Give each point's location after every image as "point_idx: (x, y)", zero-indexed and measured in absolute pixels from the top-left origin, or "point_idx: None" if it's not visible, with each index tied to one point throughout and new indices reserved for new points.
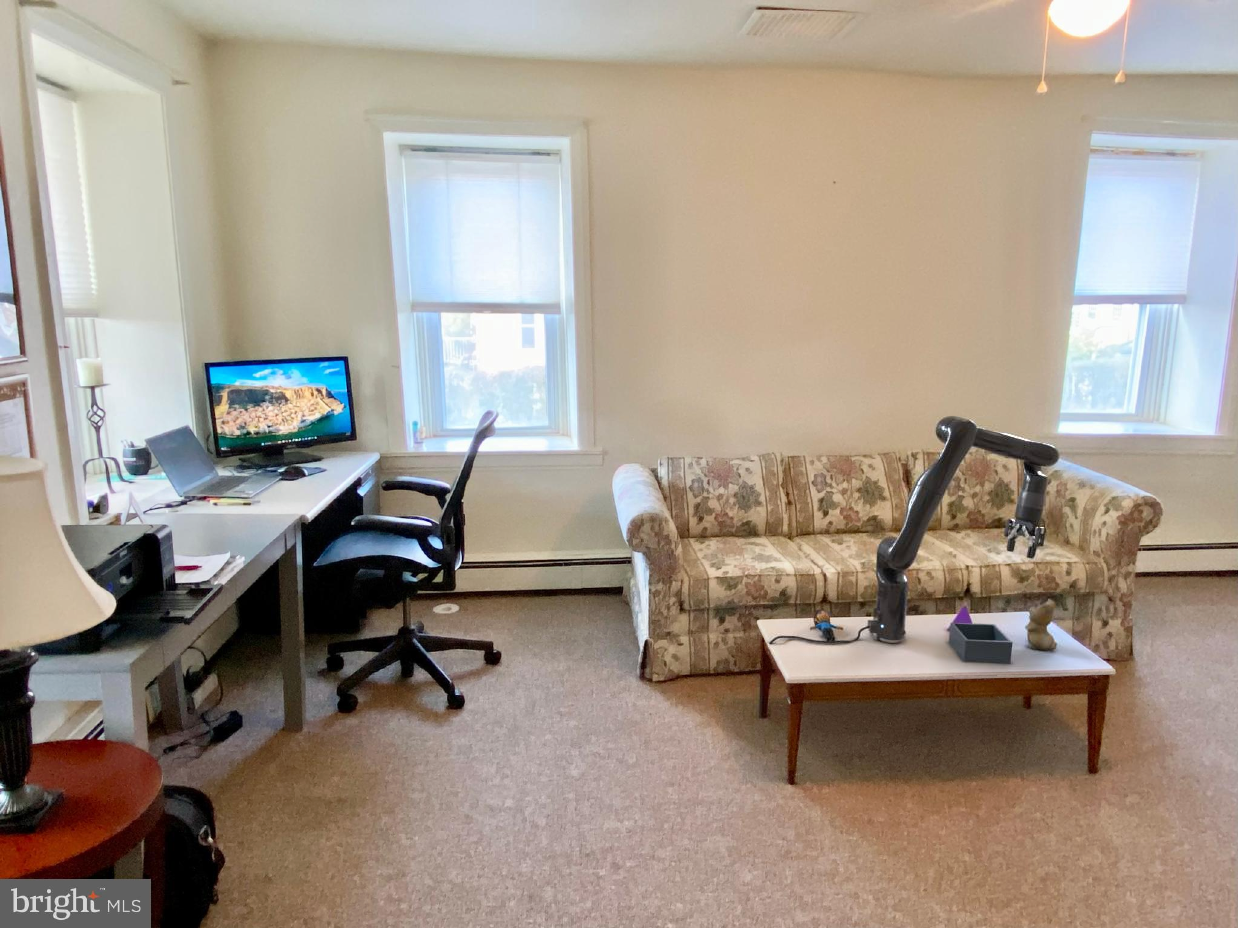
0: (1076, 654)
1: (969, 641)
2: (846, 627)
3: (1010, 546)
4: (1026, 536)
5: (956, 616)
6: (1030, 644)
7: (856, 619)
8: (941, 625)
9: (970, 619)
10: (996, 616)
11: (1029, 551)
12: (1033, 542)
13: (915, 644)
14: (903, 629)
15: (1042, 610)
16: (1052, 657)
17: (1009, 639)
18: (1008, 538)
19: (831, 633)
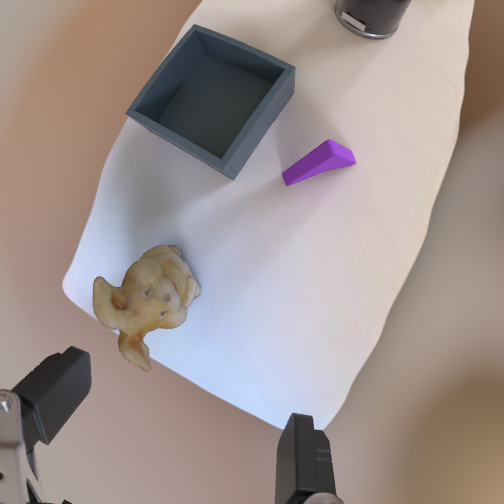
0: None
1: (189, 31)
2: (432, 4)
3: (289, 450)
4: (5, 468)
5: (340, 145)
6: (171, 248)
7: (462, 45)
8: (380, 167)
9: (306, 166)
10: (348, 357)
11: (45, 371)
12: (35, 467)
13: (318, 30)
14: (342, 1)
15: (125, 290)
16: (123, 247)
17: (138, 119)
18: (326, 501)
19: None
